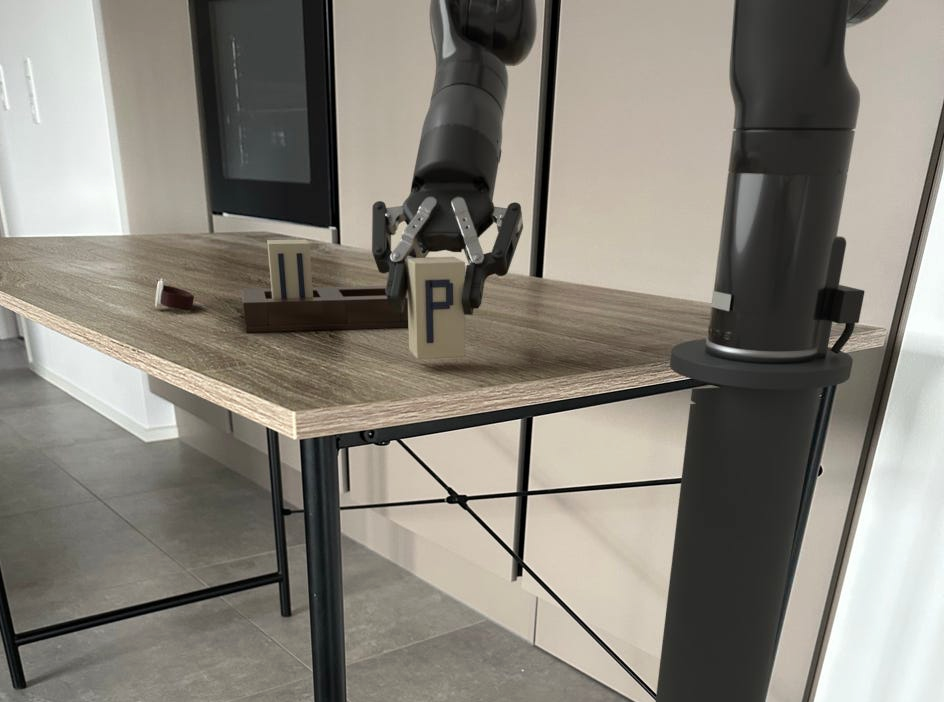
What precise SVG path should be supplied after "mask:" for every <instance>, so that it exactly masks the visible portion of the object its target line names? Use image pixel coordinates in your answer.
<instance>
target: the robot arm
mask: <svg viewBox="0 0 944 702" xmlns="http://www.w3.org/2000/svg"><path fill="white" fill-rule="evenodd" d="M888 2H889V0H734V2H733V13H732V14H733V15H732V29H731V42H730V55H729V72H728V73H729V75H728V76H729V79H728V80H729V88H730V93H731V97H732V101H733V106H734V118H733V128H732V129H733V131H732V136H731V142H730V143H731V144H730V151H729V161H728V169H727V177H726V186H725V192H724V194H725V195H724V201H723V202H724V203H723V210H722V218H721V227H720V234H719V243H718V250H717V251H718V252H717V258H716V259H717V260H716V266H715V267H716V268H715V275H714V276H715V277H714V286H713V291H712V295H711V303H710V307H711V308H710V309H711V310H710V317H709V324H708V327H707V329H708V330H707V337H706V338H705V339H706V347H705V351H706V352H707V353H708V354H710V355H712V356H715V357H718V358H722V359H726V360H732V361H738V362H746V363H758V364H794V363H803V362H808V361H811V360H814V359H821V358H826V355H827V349H828V347H829V344H830V343H829V342H830V336H831V332H832V327H833V323H835V324H839V325H841V324H845V326H844V328H843V331H842V333H841V335H840V336H839V337H838V338H837V340H836V342H835V343H834V344H833V346H832V347H830V348H831V351H833V352H834V353H837V354H838V353H839V352H840V351H842V349H843V347H844V346H845V345H846V344H847V342H848V341H849V340H850V338H851V337H852V335H853V332H854V330H855V326H856V324H859V323H860V318H861V312H862V307H863V303H864V297H865V293H866V290H864V289H860V288H855V287H851V286H847V285H843V284H840V281H841V276H842V271H843V265H844V260H845V255H846V248H847V240H846V238H845V237H844V236H839V235H838V231H839V226H840V220H841V214H842V210H843V209H842V208H843V203H844V198H845V192H846V187H847V186H846V185H847V181H848V173H849V168H850V164H851V163H850V162H851V156H852V151H853V145H854V140H855V133H856V131H855V129H856V128H857V123H858V117H859V112H860V105H861V92H860V89H859V88H858V86H857V84H856V83H855V82H854V80H853V78H852V76H851V74H850V72H849V70H848V66H847V60H846V55H845V46H846V45H845V44H846V35H847V29H849V28H852V27H855V26H856V27H857V26H859V25H861V24H862V23H865V22H867V21H868V20H869V19H871V18H873V17H874V16H875V15H876V14H877V13H879V12H880V11H881V10H882V9H883V8H884V7H885V6H886V4H887V3H888ZM537 13H538V12H537V3H536V0H430V3H429V24H430V25H429V26H430V27H429V28H430V35H431V41H432V46H433V52H434V55H435V56H434V58H435V75H434V81H433V87H432V92H431V98H430V103H429V107H428V110H427V113H426V115H425V117H424V121H423V125H422V128H421V135H420V139H419V145H418V149H417V154H416V159H415V163H414V164H415V165H414V170H413V174H412V175H413V176H412V180H411V185H410V186H411V187H410V193H409V195H408V197H407V198H406V199H405V200H404V202H403V203H402V205H399V206H392V207H391V206H390V207H387V205H386V203H385V202H384V201H382V200H378V201H375V202H374V203H373V205H372V214H371V215H372V216H371V217H372V220H371V221H372V222H371V223H372V224H371V253H372V255H373V258H374V261H375V264H376V267H377V270H378V272H379V273H380V274H388V275H387V280H386V285H385V286H386V290H385V292H386V296H387V299H388V302H389V304H390V306H393V309H394V312H403V310H404V305H405V300H406V294H407V263H406V259H407V258H426V257H427V256H428V255H429V253H438V252H442V251H447V252H451V253H462V252H464V255H465V258H466V260H467V263H468V264H467V265H466V267H465V281H464V286H463V292H462V299H461V301H462V307H463V312H464V314H465V316H473V315H474V309H475V310H478V309H479V308H480V307H481V305H482V302H483V301H482V300H483V294H484V288H485V282H486V280H487V279H488V277H490V276H493V275H496V276H498V277H504V276H506V275H507V274H508V273H509V270H510V266H511V264H512V261H513V259H514V255H515V253H516V249H517V246H518V244H519V242H520V238H521V235H522V232H523V230H524V221H523V220H524V219H523V212H522V206H521V204H520V203H518V202H511V203H510V204H508V205H507V208H506V207H500V206H495V204H494V201H493V199H494V193H495V189H496V181H497V175H498V169H499V165H500V162H501V157H502V143H503V121H504V116H505V109H506V103H507V97H508V91H509V73H508V69H507V67H515V66H518V65H521V63H523V62H524V61H525V60H526V59H527V58H528V57H529V55H530V54H531V52H532V50H533V48H534V45H535V43H536V38H537V34H538V33H537V32H538V15H537ZM404 222H405V224H406V227H405V228H404V230H403V231H402V233H401V237H400V238H401V239H400V241H399V242H398V244H396V246H395V247H394V249H393V250H392V236H395V235H396V234H397V230H398V228H399V225H400V224H401V223H404ZM494 223H495V224H496V229H497V236H496V237H495V240H494V243H493V246H492V249H491V251H489V252H486V253H484V252H483V248H482V245H481V244H480V239H479V238H480V237H481V236H482V235H483V234H484V233H485V232H486V231H487V230H488V229H489V228H490V227H491V226H492V225H493V224H494Z"/></svg>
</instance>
